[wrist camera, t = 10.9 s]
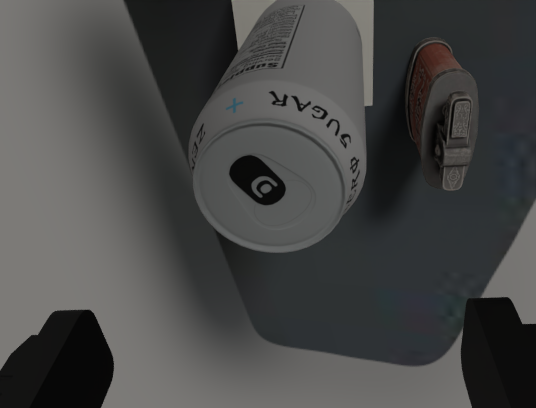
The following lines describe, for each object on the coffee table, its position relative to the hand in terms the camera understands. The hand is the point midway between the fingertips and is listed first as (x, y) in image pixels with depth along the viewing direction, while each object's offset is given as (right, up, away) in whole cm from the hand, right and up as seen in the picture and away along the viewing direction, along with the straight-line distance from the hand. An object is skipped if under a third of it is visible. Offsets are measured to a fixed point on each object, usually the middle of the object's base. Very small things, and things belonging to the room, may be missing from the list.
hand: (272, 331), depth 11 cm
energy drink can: (+2, +12, +17) cm, 21 cm away
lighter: (+12, +11, +27) cm, 32 cm away
